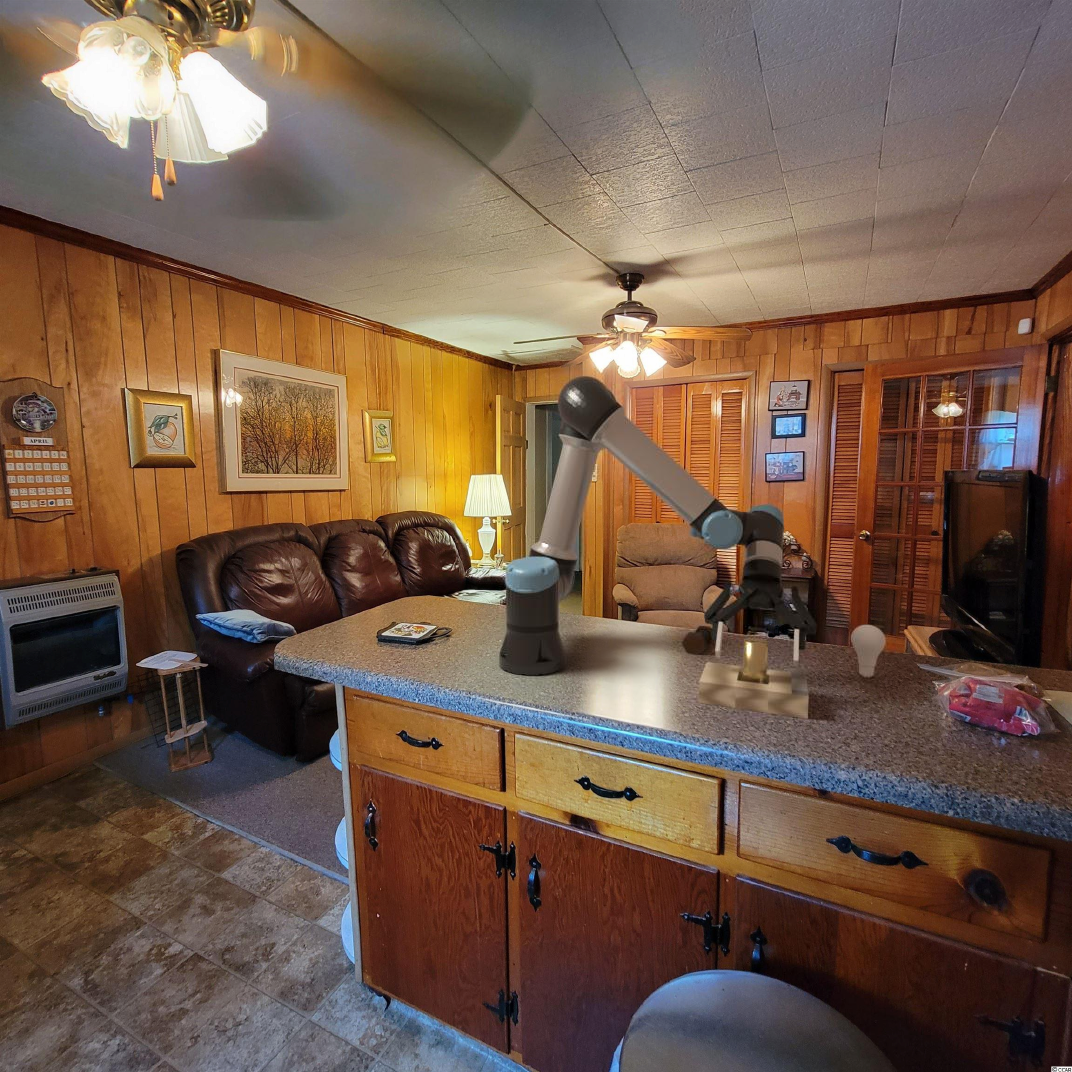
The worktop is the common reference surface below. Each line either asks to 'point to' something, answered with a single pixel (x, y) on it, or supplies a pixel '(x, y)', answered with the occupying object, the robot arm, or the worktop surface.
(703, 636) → the bolt
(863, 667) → the lightbulb
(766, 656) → the brass cylinder
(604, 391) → the robot arm
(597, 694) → the worktop surface
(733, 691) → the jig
